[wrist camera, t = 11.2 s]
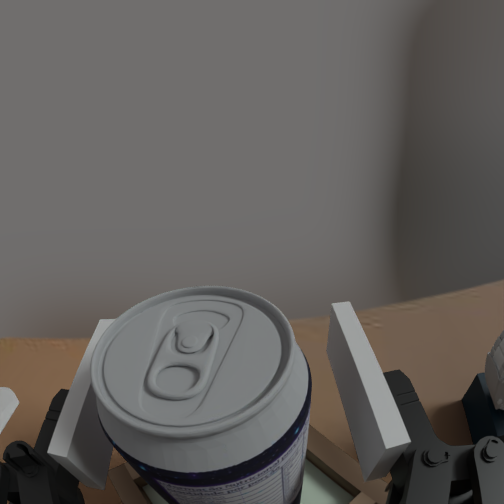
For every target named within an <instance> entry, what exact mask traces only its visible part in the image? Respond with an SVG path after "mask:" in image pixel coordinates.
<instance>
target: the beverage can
mask: <svg viewBox="0 0 504 504" xmlns="http://www.w3.org/2000/svg"><path fill="white" fill-rule="evenodd" d="M90 378H91V383H92V387H93V390H94V392H95V395H96V405H97V414H98V418H99V422H100V425H101V427H102V430H103V431H104V433H105V435H106V437H107V438H108V440H109V441H110V443H111V444H112V445H113V446H114V448H115V449H116V450H117V451H118V452H119V453H120V454H121V456H122V457H123V458H124V459H125V460H126V461H127V462H128V463H129V464H130V466H131V467H132V468H133V469H134V470H135V471H136V472H137V473H138V474H139V475H140V476H141V477H142V478H143V479H144V480H145V481H146V482H147V483H148V484H149V485H150V486H151V487H152V488H153V489H154V490H155V491H156V492H157V493H158V494H159V495H160V496H161V497H162V498H163V499H164V500H165V501H167V502H168V503H169V504H300V501H301V493H302V485H303V477H304V468H305V459H306V449H307V439H308V428H309V416H310V403H311V389H312V381H311V373H310V368H309V365H308V362H307V360H306V357H305V355H304V354H303V352H302V350H301V349H300V347H299V346H298V344H297V343H296V342H295V337H294V333H293V330H292V328H291V326H290V324H289V322H288V320H287V318H286V317H285V316H284V315H283V313H282V312H281V311H280V310H279V309H278V308H277V307H276V306H274V305H273V304H272V303H271V302H269V301H267V300H266V299H264V298H262V297H260V296H258V295H255V294H253V293H251V292H248V291H244V290H241V289H237V288H230V287H222V286H197V287H188V288H182V289H177V290H173V291H169V292H165V293H162V294H159V295H157V296H154V297H151V298H149V299H147V300H145V301H143V302H141V303H139V304H137V305H135V306H134V307H132V308H130V309H129V310H127V311H126V312H124V313H123V314H122V315H120V316H119V317H118V318H117V319H116V320H115V321H114V322H113V323H111V324H110V326H109V327H108V328H107V329H106V330H105V332H104V333H103V334H102V336H101V337H100V339H99V341H98V342H97V344H96V346H95V349H94V351H93V354H92V358H91V363H90Z"/></svg>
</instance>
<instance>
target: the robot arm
mask: <svg viewBox="0 0 504 504" xmlns="http://www.w3.org/2000/svg"><path fill="white" fill-rule="evenodd" d="M115 320H116V319H101V320H100V321H99V323H98V325H97V328H96V330H95V332H94V334H93V336H92V338H91V341H90V343H89V345H88V347H87V350H86V352H85V354H84V356H83V359H82V361H81V363H80V366H79V368H78V370H77V373H76V375H75V378H74V380H73V383H72V385H71V388H70V390H66V389H61V390H60V391H59V392H58V393H57V394H56V395H55V397H54V398H53V399H52V402H51V404H50V407H49V411H48V412H47V414H46V417H45V418H46V420H44V422H43V425H42V428H41V430H40V433H39V436H38V439H37V441H36V444H35V447H34V449H33V448H32V447H31V446H29V445H28V444H27V443H26V442H24V441H15V442H12V443H10V444H9V445H8V446H7V447H6V449H5V451H4V454H3V460H4V461H5V462H7V463H2V462H1V461H0V504H7V500H8V501H10V502H9V504H85V502H84V499H83V495H82V493H81V491H80V489H79V488H78V484H79V481H80V482H81V483H83V484H84V485H85V486H86V487H91V488H95V489H101V490H105V484H106V479H107V474H108V469H109V464H110V459H111V455H112V450H113V445H112V444H111V443H110V441H109V440H108V438H107V437H106V435H105V433H104V431H103V430H102V427H101V425H100V422H99V418H98V414H97V405H96V395H95V392H94V390H93V387H92V383H91V378H90V363H91V358H92V354H93V351H94V349H95V346H96V344H97V342H98V341H99V339H100V337H101V336H102V334H103V333H104V332H105V330H106V329H107V328H108V327H109V326H110V324H111V323H113V322H114V321H115ZM326 351H327V354H328V358H329V361H330V364H331V367H332V371H333V374H334V377H335V380H336V384H337V387H338V390H339V394H340V397H341V400H342V404H343V407H344V410H345V414H346V417H347V421H348V424H349V428H350V431H351V435H352V438H353V442H354V445H355V449H356V453H357V456H358V460H359V464H360V467H361V471H362V475H363V479H364V482H368V481H371V480H375V479H379V478H383V477H386V475H387V474H388V473H389V471H390V473H391V476H392V481H391V482H390V483H389V484H388V485H387V486H386V489H385V491H384V492H387V491H388V490H389V492H388V496H387V500H386V504H504V443H503V442H502V441H501V440H500V439H499V438H497V437H494V436H486V437H484V438H482V439H480V440H479V442H478V443H477V444H476V445H463V446H451V445H448V444H446V443H444V442H443V441H440V440H439V439H438V438H437V436H436V435H435V433H434V431H433V428H432V426H431V424H430V422H429V420H428V417H427V415H426V413H425V411H424V409H423V406H422V404H421V402H419V398H418V396H417V394H416V392H415V390H414V387H413V385H412V383H411V381H410V379H409V378H408V377H407V376H406V375H405V374H404V373H403V372H401V371H400V370H394V371H390V372H385V373H382V370H381V368H380V366H379V364H378V361H377V359H376V357H375V355H374V352H373V350H372V348H371V346H370V344H369V342H368V339H367V337H366V335H365V333H364V331H363V329H362V326H361V324H360V322H359V320H358V318H357V316H356V314H355V312H354V310H353V308H352V306H351V303H350V302H341V303H332V305H331V315H330V325H329V334H328V342H327V350H326Z"/></svg>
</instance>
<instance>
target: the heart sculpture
mask: <svg viewBox="0 0 504 504" xmlns="http://www.w3.org/2000/svg"><path fill="white" fill-rule="evenodd" d="M18 404H19V401H18V399H17V397H16V395H15V394H14V392H13V391H12V390H11V389H10V388H6V387H0V434H1V432H2V430H3V428H4V427H5V425H6V423H7V422H8V420H9V419H10V417H11V415H12V414H13V412H14V411H15V409H16V407H17V406H18Z"/></svg>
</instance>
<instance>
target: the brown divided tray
mask: <svg viewBox="0 0 504 504" xmlns="http://www.w3.org/2000/svg"><path fill="white" fill-rule="evenodd" d="M108 476H109V478H110V480H111V481H112V483H113V485H114V487H115V489H116V491H117V493H118V495H119V497H120V498H121V500H122V502H123V504H169V503H168V502H167V501H165V500H164V499H163V498H162V497H161V496H160V495H159V494H158V493H157V492H156V491H155V490H154V489H153V488H152V487H151V486H150V485H149V484H148V483H147V482H146V481H145V480H144V479H143V478H142V477H141V476H140V475H139V474H138V473H137V472H136V471H135V470H134V469H133V468H132V467H131V466H130V464H129V463H128V462H126V463H124V464H122V465H120V466H118V467H115V468H113V469H111V470H109V471H108ZM387 485H388V483H386V482H385V481H383V480H382V479H380V478H379V479H375V480H371V481H368V482H364V479H363V475H362V471H361V467H360V464H359V463H358V462H357V461H356V460H354V459H353V458H352V457H350V456H349V455H348V454H346V453H345V452H344V451H342V450H341V449H340V448H339V447H337V446H336V445H335V444H333V443H332V442H331V441H330V440H328V439H327V438H326V437H324V436H323V435H322V434H321V433H319V432H318V431H317V430H316V429H315V428H313V427H312V426H311V425H310V424H309V428H308V439H307V449H306V459H305V468H304V477H303V485H302V493H301V501H300V504H386V500H387V496H388V492H389V490H388V491H387V492H384V491H385V489H386V486H387Z"/></svg>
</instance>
